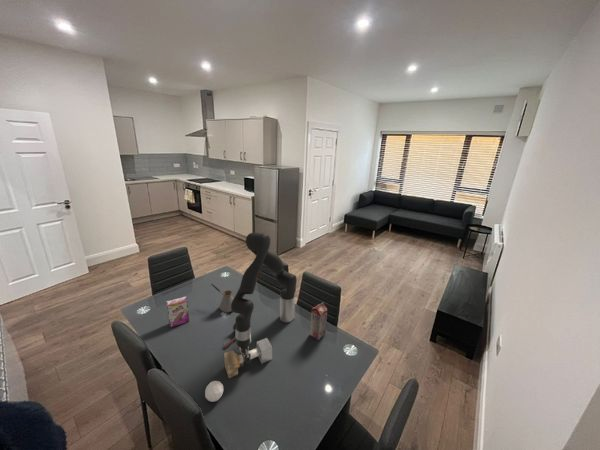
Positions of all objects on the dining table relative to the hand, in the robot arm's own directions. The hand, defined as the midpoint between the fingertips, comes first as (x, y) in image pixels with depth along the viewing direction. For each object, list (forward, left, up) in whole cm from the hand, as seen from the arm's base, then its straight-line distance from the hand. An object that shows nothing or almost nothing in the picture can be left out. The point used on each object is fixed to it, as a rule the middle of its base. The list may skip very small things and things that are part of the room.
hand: (244, 361), depth 124 cm
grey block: (-11, 0, -2) cm, 11 cm away
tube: (-3, 0, -1) cm, 3 cm away
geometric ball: (+17, +10, -3) cm, 20 cm away
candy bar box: (+26, -49, -3) cm, 55 cm away
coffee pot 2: (-1, -21, -3) cm, 21 cm away
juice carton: (-46, 0, -3) cm, 46 cm away
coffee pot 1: (-2, -53, -3) cm, 53 cm away
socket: (+7, 0, -2) cm, 7 cm away
